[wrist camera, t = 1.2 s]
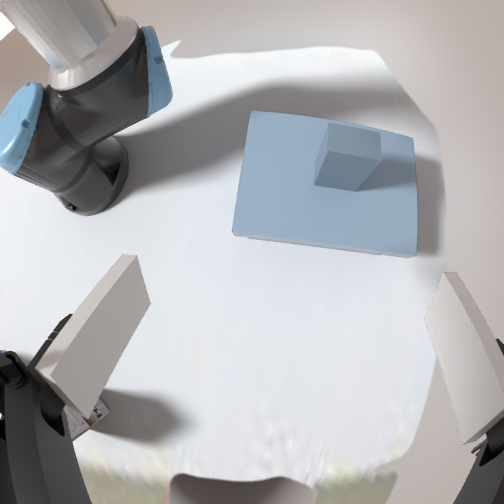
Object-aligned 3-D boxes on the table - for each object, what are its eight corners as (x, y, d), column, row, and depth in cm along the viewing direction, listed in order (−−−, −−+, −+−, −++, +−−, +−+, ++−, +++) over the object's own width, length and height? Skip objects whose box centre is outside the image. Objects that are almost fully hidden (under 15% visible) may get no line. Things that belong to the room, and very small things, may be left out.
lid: (234, 235, 34) (216, 211, 23) (252, 121, 36) (244, 64, 24) (406, 258, 33) (458, 245, 21) (405, 146, 34) (443, 103, 23)
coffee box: (89, 383, 41) (31, 411, 25) (112, 412, 40) (59, 449, 24) (67, 404, 40) (14, 431, 24) (88, 430, 40) (39, 464, 24)
